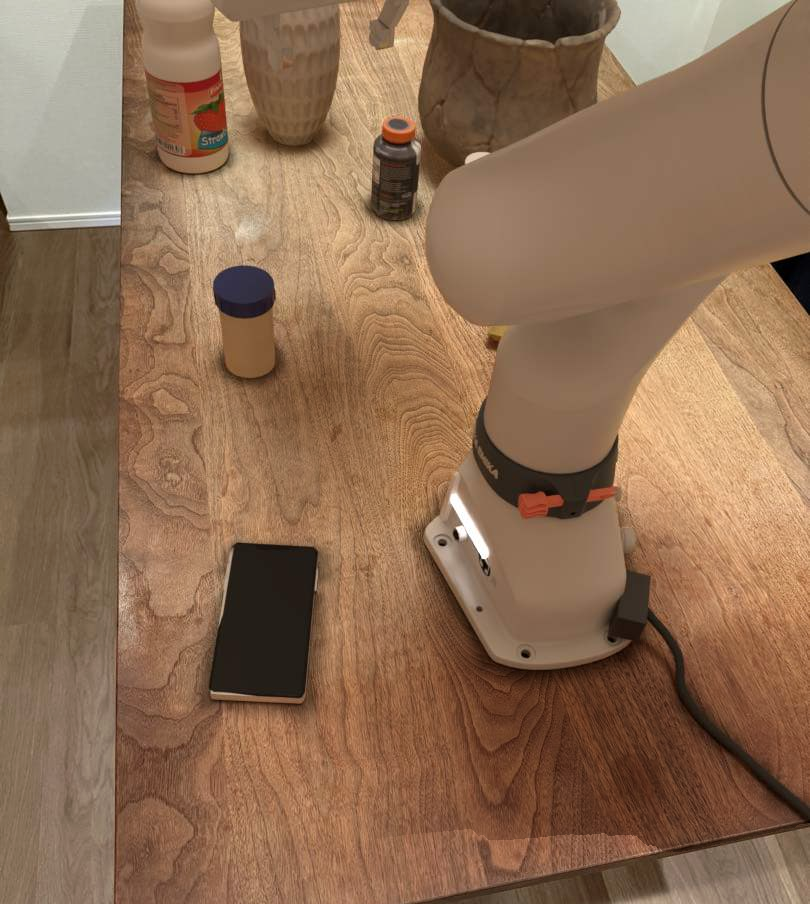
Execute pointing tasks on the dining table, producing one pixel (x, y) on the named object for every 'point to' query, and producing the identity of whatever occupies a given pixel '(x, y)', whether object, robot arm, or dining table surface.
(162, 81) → the fruit juice
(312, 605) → the smartphone
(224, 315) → the jar
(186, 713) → the dining table surface
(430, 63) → the pot
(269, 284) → the lid
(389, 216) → the pill bottle
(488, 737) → the dining table surface
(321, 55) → the vase
